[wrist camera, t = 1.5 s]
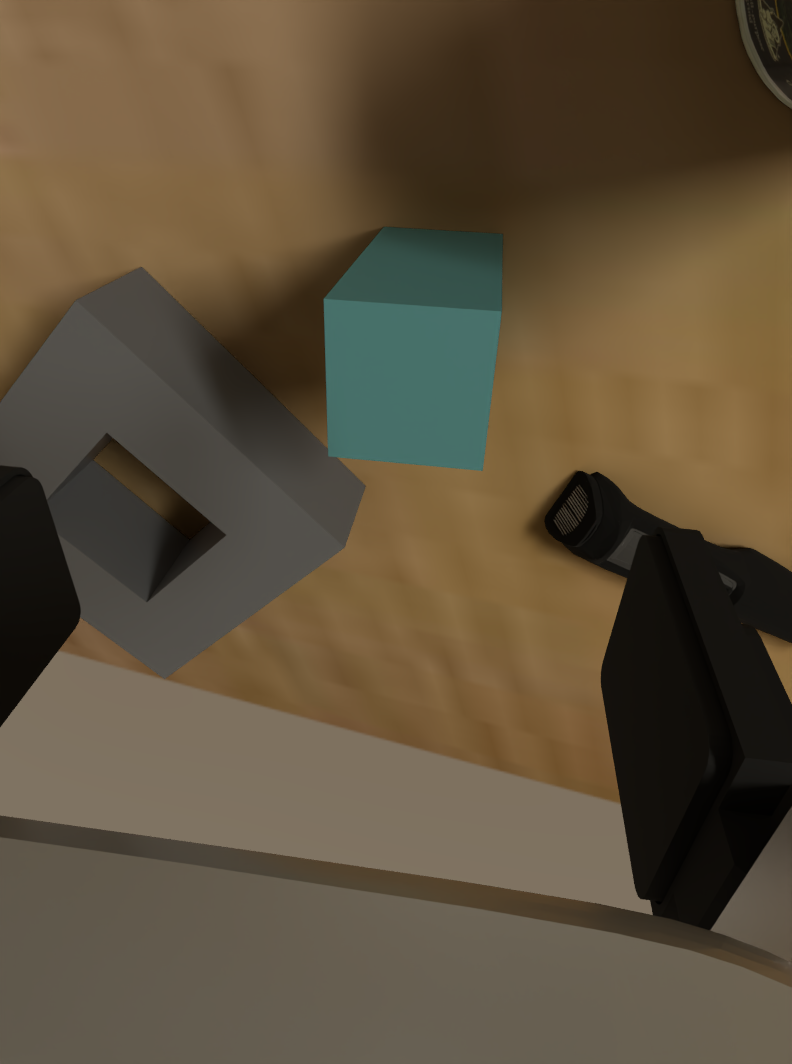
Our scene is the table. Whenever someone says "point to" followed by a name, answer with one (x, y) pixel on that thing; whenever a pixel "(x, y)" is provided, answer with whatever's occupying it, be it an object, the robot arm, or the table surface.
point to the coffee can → (769, 42)
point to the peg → (414, 348)
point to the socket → (170, 473)
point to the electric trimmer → (617, 524)
